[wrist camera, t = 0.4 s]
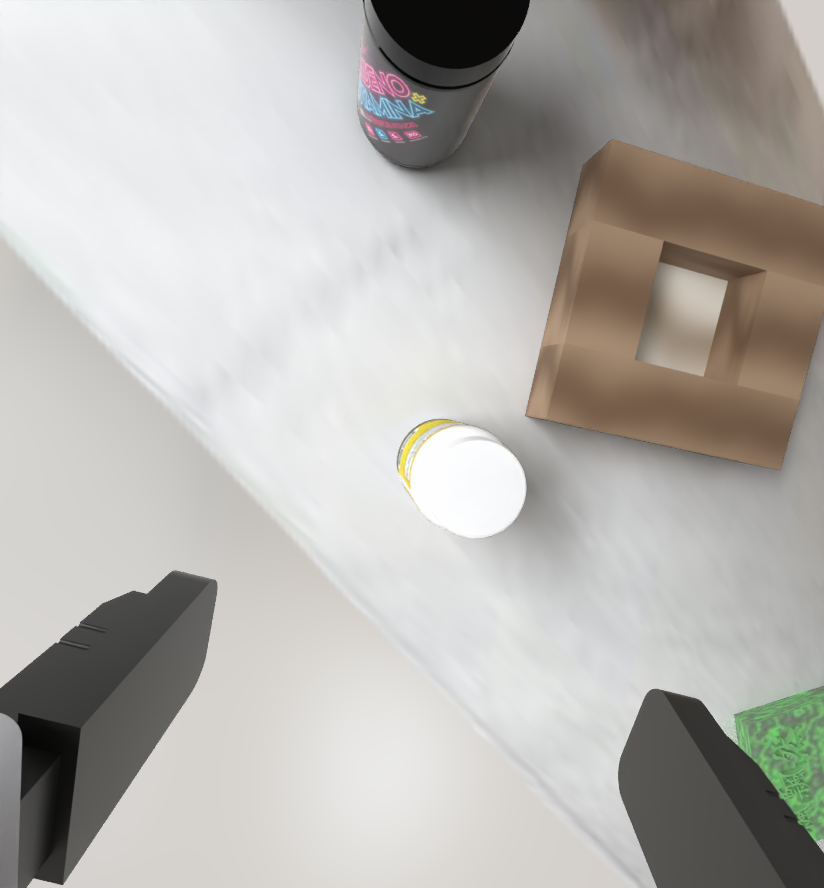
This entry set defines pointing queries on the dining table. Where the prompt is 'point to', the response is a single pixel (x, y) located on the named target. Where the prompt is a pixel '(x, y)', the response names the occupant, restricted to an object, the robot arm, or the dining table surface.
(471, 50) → the supplement container
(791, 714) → the green jade tablet
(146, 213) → the dining table surface
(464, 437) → the supplement bottle
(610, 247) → the walnut pocket block
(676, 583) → the dining table surface
